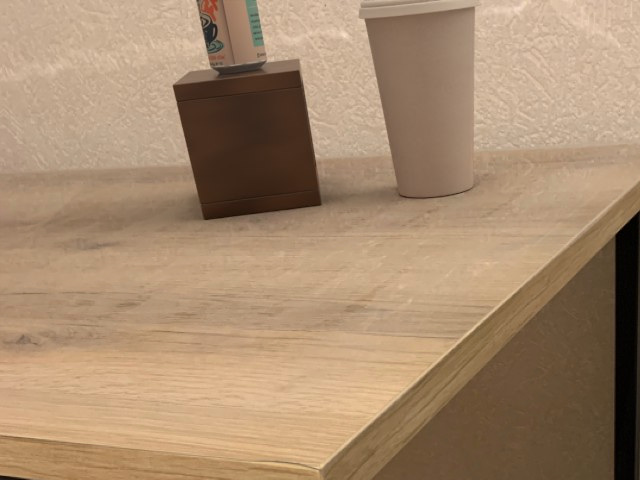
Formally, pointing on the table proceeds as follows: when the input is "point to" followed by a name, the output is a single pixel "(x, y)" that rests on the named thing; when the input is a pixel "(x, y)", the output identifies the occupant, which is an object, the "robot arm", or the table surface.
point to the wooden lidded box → (249, 139)
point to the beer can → (232, 35)
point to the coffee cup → (426, 90)
